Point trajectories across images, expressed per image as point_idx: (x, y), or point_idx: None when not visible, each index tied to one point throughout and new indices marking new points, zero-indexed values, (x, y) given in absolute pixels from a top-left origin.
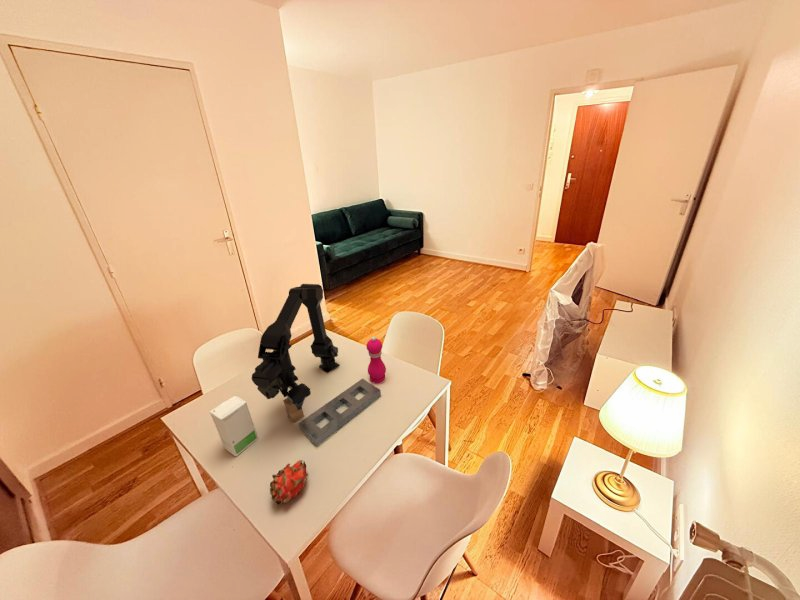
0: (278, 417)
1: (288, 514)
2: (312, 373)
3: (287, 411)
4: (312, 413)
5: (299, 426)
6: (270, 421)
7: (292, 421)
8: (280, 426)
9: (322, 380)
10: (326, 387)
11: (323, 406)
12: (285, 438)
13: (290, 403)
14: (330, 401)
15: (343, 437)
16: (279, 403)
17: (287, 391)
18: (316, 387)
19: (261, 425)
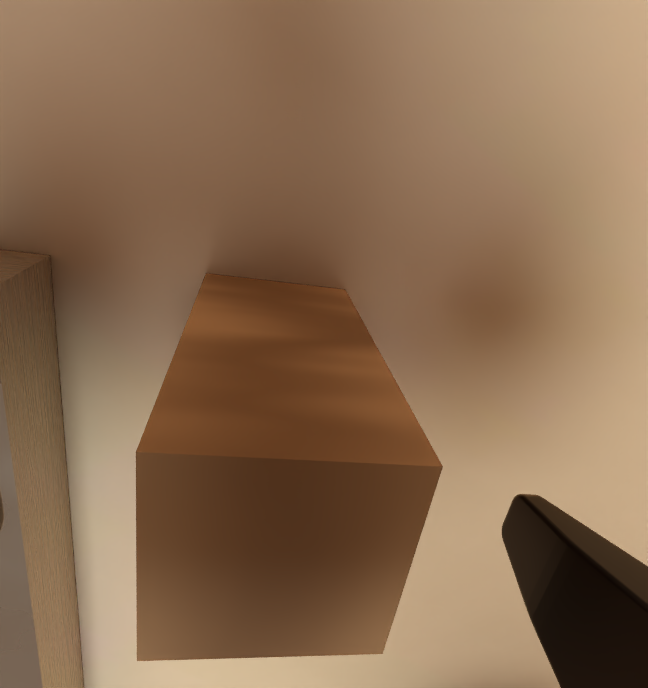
0: (448, 227)
1: None
2: (543, 673)
3: (322, 333)
4: (10, 493)
5: (17, 270)
6: (492, 128)
7: (236, 279)
8: (310, 146)
9: (412, 680)
10: (321, 665)
11: (20, 609)
12: (63, 38)
13: (187, 509)
14: (31, 675)
15: None
16: (585, 356)
17: (537, 629)
18: (398, 626)
19: (556, 7)
